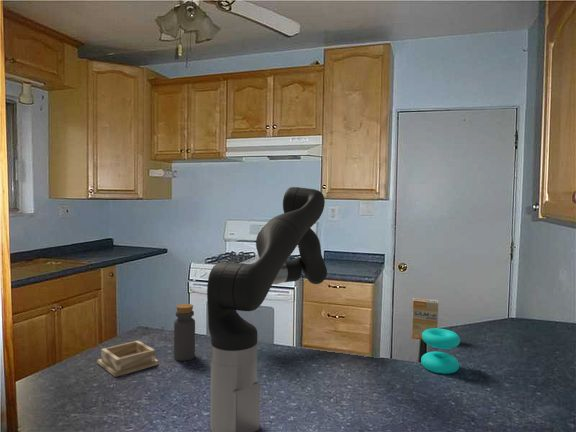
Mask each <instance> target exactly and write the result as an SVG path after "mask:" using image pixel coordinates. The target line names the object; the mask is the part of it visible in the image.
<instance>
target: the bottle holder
mask: <svg viewBox="0 0 576 432" xmlns="http://www.w3.org/2000/svg"><path fill="white" fill-rule="evenodd" d="M100 355H101V357H100V358H99V359H97V364H98V365H99V366H101V368H103V369H104V370H106V372H108V373H110V374H111V375H112V376H113V377H114V378H117V377H121V376H123V375H127V374H130V373H133V372H139V371H141V370H144V369H147V368H148V369H149V368H151V367H154V366H158V365H160V362H159V361H160V360H158V359H156V349H154V348H152V347H150V346H149V345H147V344H146V343H144V342H142V341H140V340H133V341H130V342H124V343H121V344H117V345H112V346H109V347H104V348H101V349H100Z"/></svg>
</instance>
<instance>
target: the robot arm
mask: <svg viewBox="0 0 576 432" xmlns="http://www.w3.org/2000/svg"><path fill="white" fill-rule="evenodd" d="M325 200H326V199H325V196H324V194H323V192H321V191H320V190H318V189H315V188H308V187H307V188H306V187H299V186H297V187H296V186H290V187H289V188H287V189H286V191H285V193H284V195H283V199H282V210H283V213H281V214H278V215H275V216H274V217H272V218H271V219H269V220H268V222H267V223H266V224H265V225H264V226H262V228H261V229H260V230H259V232H258V234H257V236H256V240H255V246H256V251H257V252H256V253H257V255H258V260H256V261H255V262H252V263H241V262H240V263H239V262H228V261H225V262H224V261H223V262H222V261H221V262H217V263H216V264H214V265H213V266H212V268H211V270H210V273H209V275H208V278H207V283H206V285H207V288H206V290H207V291H206V298H207V299H206V300H207V303H206V304H207V317H208V321H207V322H208V324H207V325H208V331H209V334H210V342H211V343H210V344H211V345H210V430H211V432H257V431H259V430H260V411H261V410H260V408H261V404H260V403H261V400H260V398H261V396H260V394H261V384H260V382H258V335H259V334H258V330H257V328H256V326H254V324H252V323H250V322H248V321H247V320H245V319H244V318H243V317H242V316H241V315H239V313H238V312H237V311H240V312H253V311H256V310H257V309H258V308H259V307H260V306H261V305H262V304H263V302H264V301H265V299H266V297H267V296H268V293H269V291H270V289H271V288H272V287H273V286H272V285H280V284H282V283H293V282H297V281H299V280H300V279H301V277H302V275H303V274H304V276H305V277H306V279H307V281H308V282H309V283H310V284H313V285H319V284H322V283H323V282H324V281H325V280H326V279H327V275H328V269H327V266H326V263H325V260H324V258H323V255H322V248H321V241H320V238H319V237H318V235H317V233H316V232H315V231H314V230H313V229H312V227H313V226H314V225H315V224H316V223H317V222H318V220H319V219H320V218H321V216H322V214H323V212H324V209H325V206H326V205H325V203H326V202H325ZM297 247H298V251H299V252H298V253H299V257H296V258H294V259H289V257H290V256H291V255H292V254H293V252H294V251H295V249H296V248H297ZM288 259H289V260H288ZM302 273H303V274H302Z"/></svg>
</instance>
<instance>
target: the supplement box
mask: <svg viewBox="0 0 576 432" xmlns="http://www.w3.org/2000/svg"><path fill="white" fill-rule="evenodd" d="M411 308H412V312H411V314H412V315H411V339H413V340H422V341H423V339H422V333H423V332H424V331H425V330H427V329H431V328H438V325H439V323H438V321H439V300H438V299H430V298H429V299H428V298H419V297H412V307H411Z"/></svg>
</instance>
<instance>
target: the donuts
mask: <svg viewBox="0 0 576 432" xmlns="http://www.w3.org/2000/svg"><path fill="white" fill-rule="evenodd" d="M422 339H423V340H422V341H423V342H424V343H426V345H428V346H430V347H431V348H432V347H433V348H436V349H442V350H450V349H454V348H456V347H458V346H459V345H460V343H461V337H460V336H459V335H458V334H457V333H456V332H455V331H452V330H449V329H446V328H439V327H437V328H431V329H427V330H425V331H424V332H423V333H422ZM420 362H421V365H422V367H424V368H425V369H426V370H428V371H430V372H432V373H437V374H441V373H442V374H443V375H444V374H445V375H447V374H454V373H456V372H457V371H458V370H459V368H460V363H459V360H458V359H457V358H456V357H455V356H453V355H452V354H449V353H447V352H443V351H429V352H426V353H423V355H422V356H421V358H420Z"/></svg>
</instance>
